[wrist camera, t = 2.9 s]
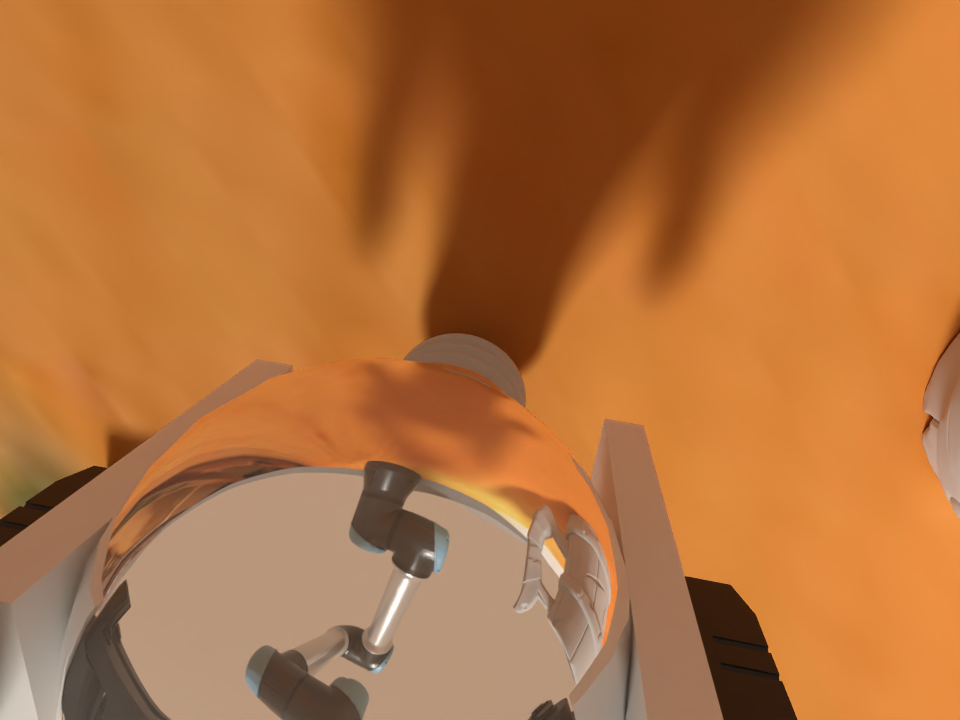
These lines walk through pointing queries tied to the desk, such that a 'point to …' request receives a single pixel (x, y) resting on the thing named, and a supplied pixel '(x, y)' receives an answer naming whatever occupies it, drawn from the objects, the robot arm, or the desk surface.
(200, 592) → the light bulb
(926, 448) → the mug
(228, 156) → the desk surface
